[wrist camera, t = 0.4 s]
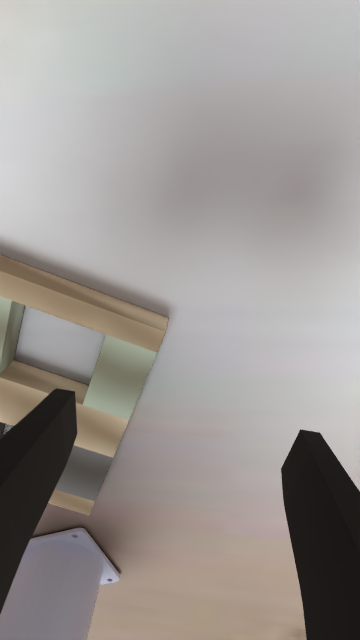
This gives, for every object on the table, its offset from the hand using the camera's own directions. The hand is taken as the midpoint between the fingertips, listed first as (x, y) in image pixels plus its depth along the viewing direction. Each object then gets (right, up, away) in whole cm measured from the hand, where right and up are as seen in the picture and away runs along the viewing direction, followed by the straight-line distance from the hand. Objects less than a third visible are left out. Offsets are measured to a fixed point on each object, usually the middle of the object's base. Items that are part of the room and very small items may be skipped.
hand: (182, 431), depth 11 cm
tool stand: (-10, -2, +13) cm, 16 cm away
